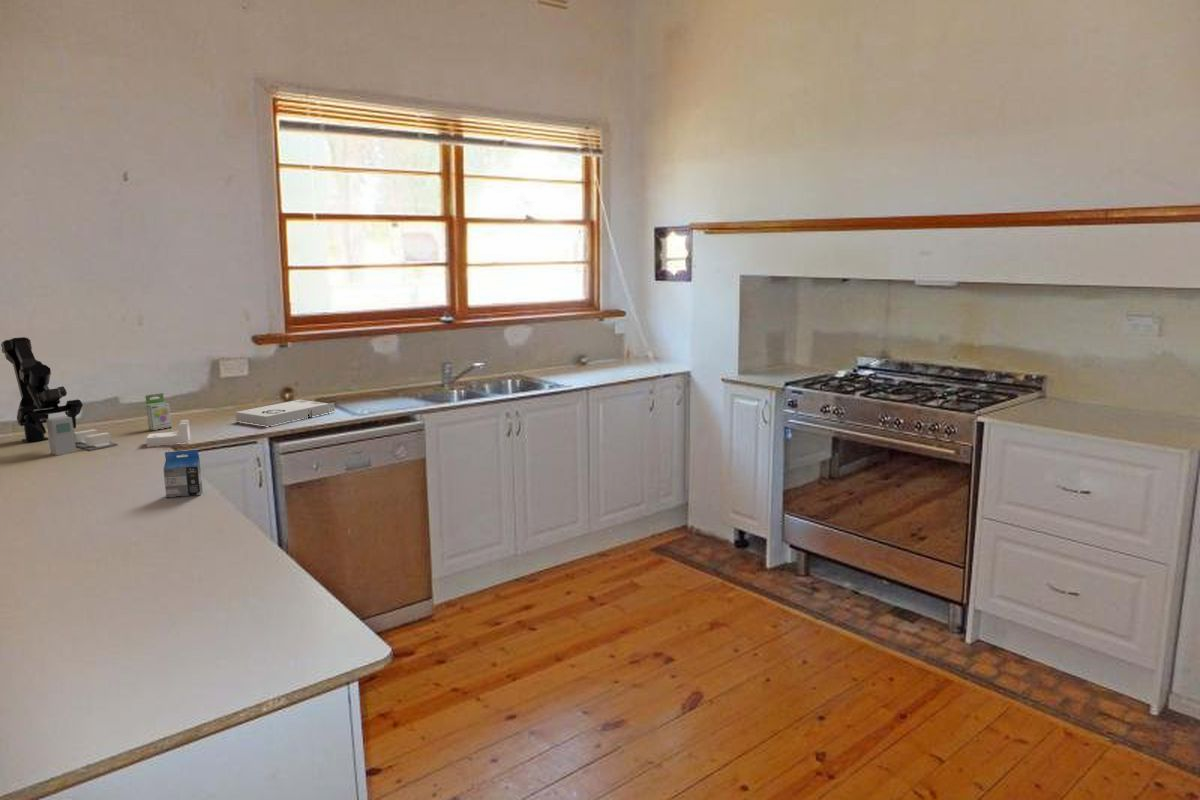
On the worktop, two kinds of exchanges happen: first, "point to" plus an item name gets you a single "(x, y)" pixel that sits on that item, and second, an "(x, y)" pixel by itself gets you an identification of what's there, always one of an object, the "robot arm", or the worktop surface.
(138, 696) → the worktop surface
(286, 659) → the worktop surface
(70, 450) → the grey module
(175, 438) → the bracket
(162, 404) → the ink box
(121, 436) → the worktop surface
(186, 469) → the blue retail package
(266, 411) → the power supply unit
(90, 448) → the module rail
